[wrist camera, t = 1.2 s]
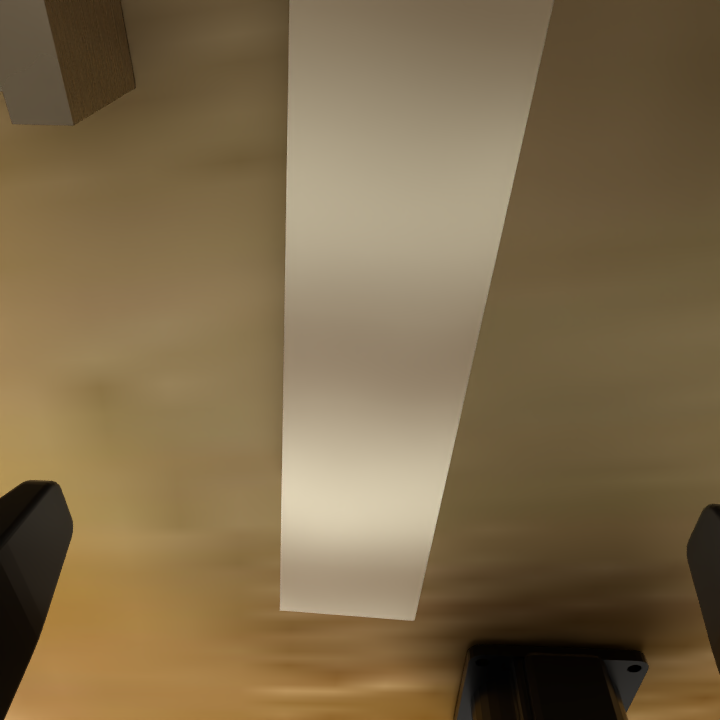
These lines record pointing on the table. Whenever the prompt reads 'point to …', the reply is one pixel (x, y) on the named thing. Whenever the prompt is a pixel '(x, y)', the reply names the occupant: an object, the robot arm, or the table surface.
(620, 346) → the table surface
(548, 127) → the table surface
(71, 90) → the bracket
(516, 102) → the rail
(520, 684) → the robot arm
